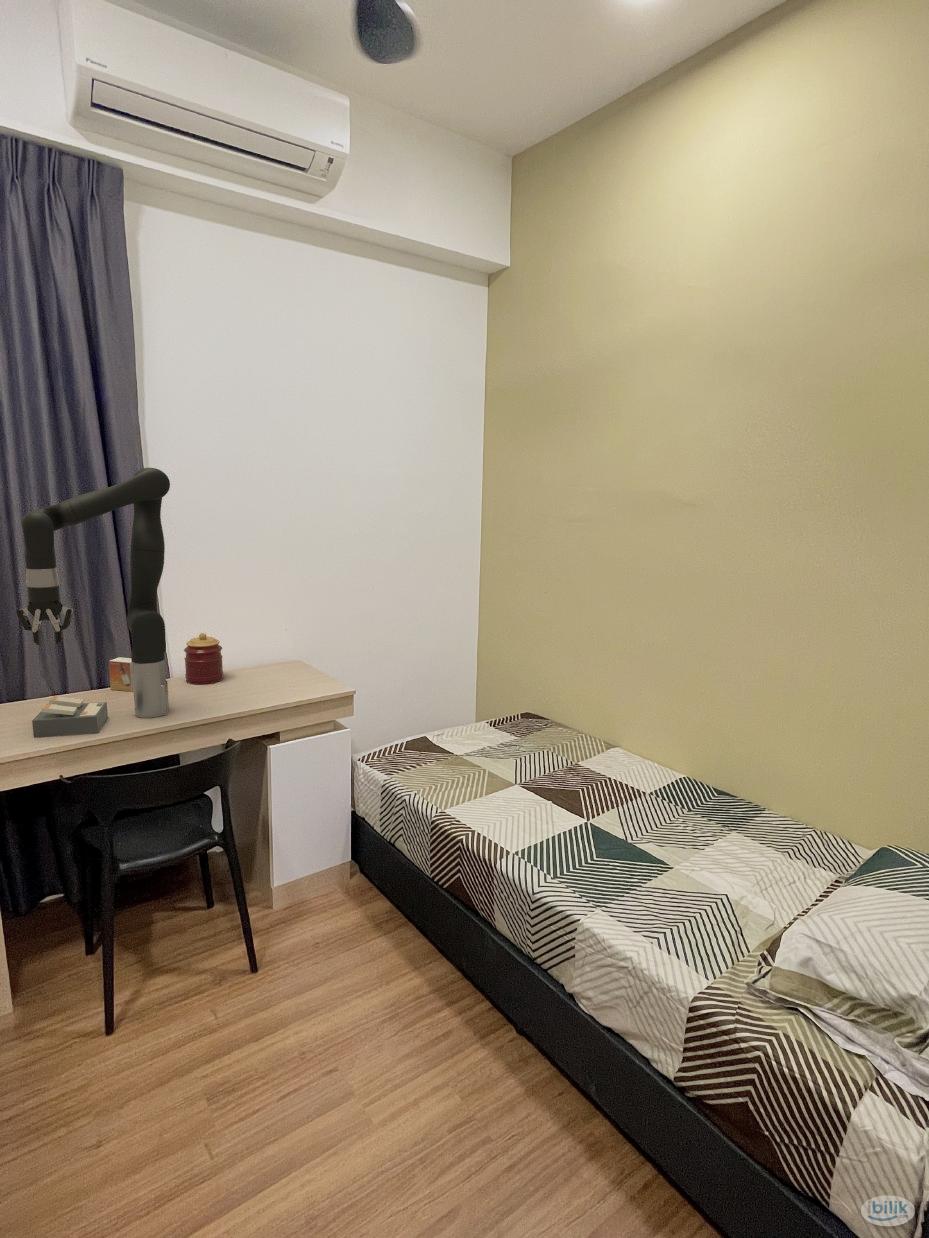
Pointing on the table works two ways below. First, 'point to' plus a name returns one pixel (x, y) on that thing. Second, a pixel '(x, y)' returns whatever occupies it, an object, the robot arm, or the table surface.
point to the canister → (203, 660)
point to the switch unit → (71, 721)
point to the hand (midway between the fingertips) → (48, 643)
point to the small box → (121, 674)
